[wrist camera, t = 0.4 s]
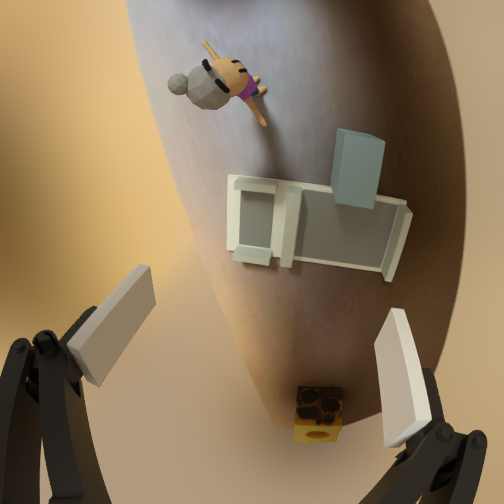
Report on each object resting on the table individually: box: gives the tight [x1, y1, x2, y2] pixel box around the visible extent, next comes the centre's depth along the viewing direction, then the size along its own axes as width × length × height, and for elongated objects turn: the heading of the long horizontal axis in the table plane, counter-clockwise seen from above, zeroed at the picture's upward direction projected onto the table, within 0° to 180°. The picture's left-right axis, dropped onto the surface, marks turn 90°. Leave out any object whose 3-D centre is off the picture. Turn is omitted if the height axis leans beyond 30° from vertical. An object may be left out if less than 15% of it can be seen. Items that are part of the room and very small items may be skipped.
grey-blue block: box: [330, 128, 385, 209], centre depth 28 cm, size 7×4×8 cm, turn 177°
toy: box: [168, 40, 267, 127], centre depth 23 cm, size 10×6×15 cm, turn 34°
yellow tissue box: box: [294, 387, 343, 442], centre depth 52 cm, size 10×10×10 cm
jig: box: [227, 174, 413, 282], centre depth 35 cm, size 11×24×4 cm, turn 87°
